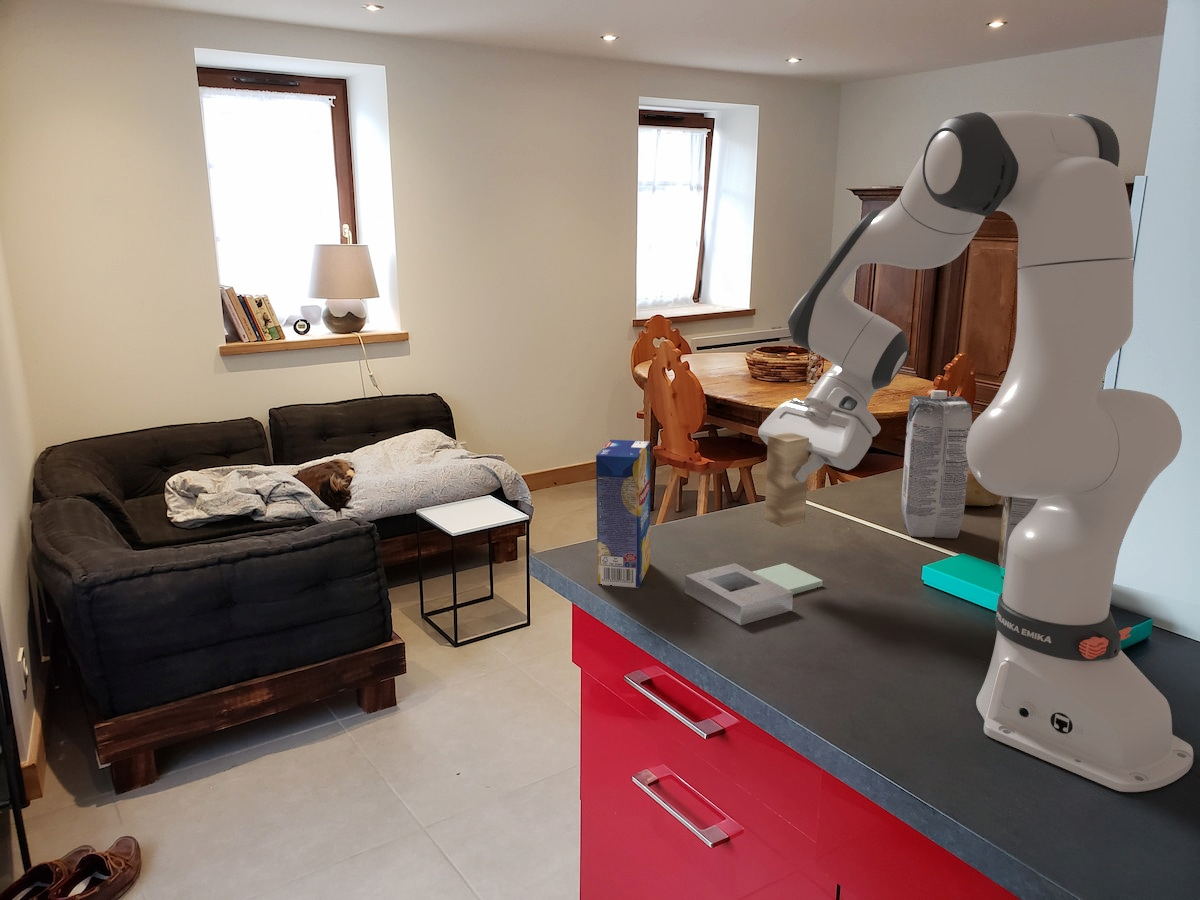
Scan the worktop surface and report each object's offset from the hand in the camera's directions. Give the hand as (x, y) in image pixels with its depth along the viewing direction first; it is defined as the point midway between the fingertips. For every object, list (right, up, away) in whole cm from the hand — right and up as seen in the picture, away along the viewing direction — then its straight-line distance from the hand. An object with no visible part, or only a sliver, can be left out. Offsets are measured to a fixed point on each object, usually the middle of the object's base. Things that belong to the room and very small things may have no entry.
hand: (783, 474), depth 142 cm
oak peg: (+1, -7, +2) cm, 8 cm away
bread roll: (+46, -8, +44) cm, 64 cm away
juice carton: (+33, -12, +28) cm, 45 cm away
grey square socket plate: (-8, -20, -2) cm, 21 cm away
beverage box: (-25, -17, +10) cm, 32 cm away
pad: (+1, -18, +5) cm, 19 cm away
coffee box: (+41, -17, +8) cm, 45 cm away
